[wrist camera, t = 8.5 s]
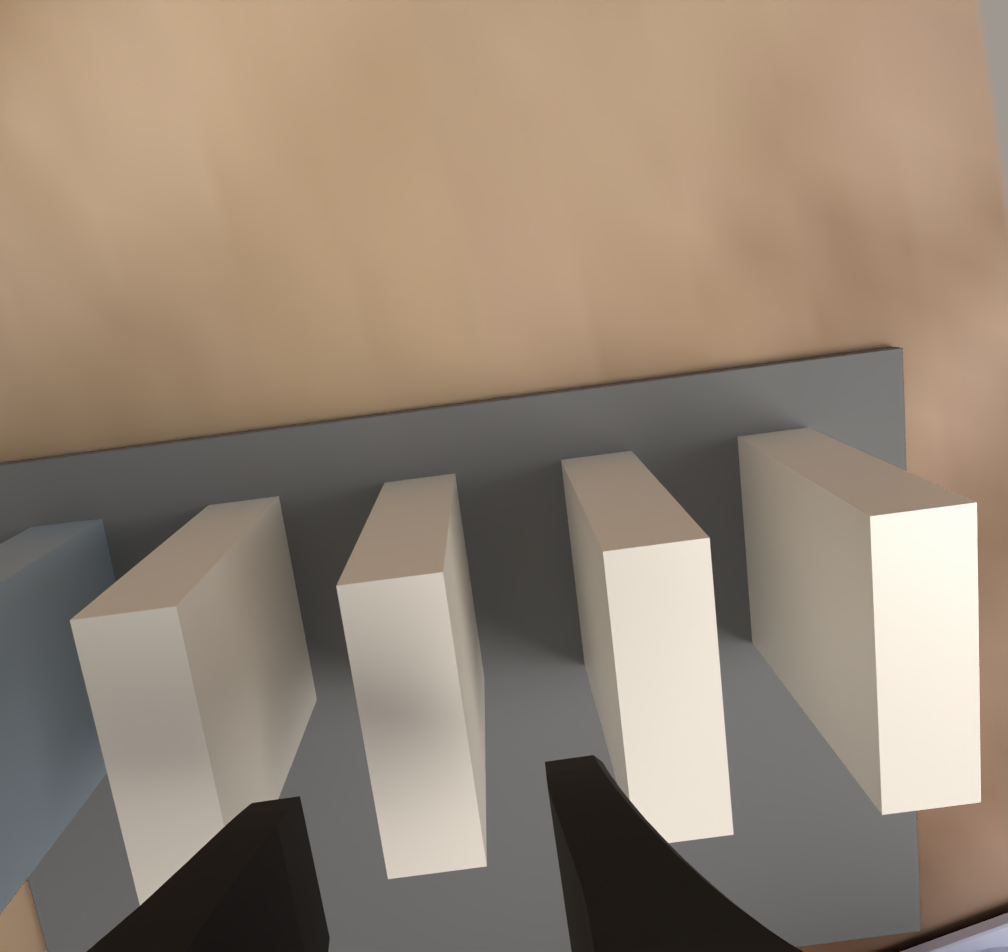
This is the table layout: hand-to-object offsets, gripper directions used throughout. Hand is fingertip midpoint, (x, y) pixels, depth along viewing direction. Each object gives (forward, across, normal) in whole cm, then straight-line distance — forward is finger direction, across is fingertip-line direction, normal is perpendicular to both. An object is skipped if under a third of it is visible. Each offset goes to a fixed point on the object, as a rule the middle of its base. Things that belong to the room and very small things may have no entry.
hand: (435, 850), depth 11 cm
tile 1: (+10, -8, 0) cm, 12 cm away
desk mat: (+10, 0, +3) cm, 11 cm away
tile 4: (+10, +4, 0) cm, 11 cm away
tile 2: (+10, -4, 0) cm, 11 cm away
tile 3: (+10, 0, 0) cm, 10 cm away
